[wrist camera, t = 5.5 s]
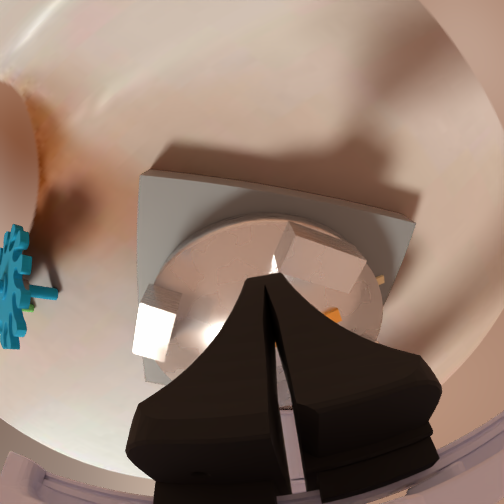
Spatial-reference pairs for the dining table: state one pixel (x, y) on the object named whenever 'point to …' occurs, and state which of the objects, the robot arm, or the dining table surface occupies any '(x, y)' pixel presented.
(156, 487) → the robot arm
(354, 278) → the lugged metal disc
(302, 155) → the dining table surface
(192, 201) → the base plate
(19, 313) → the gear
